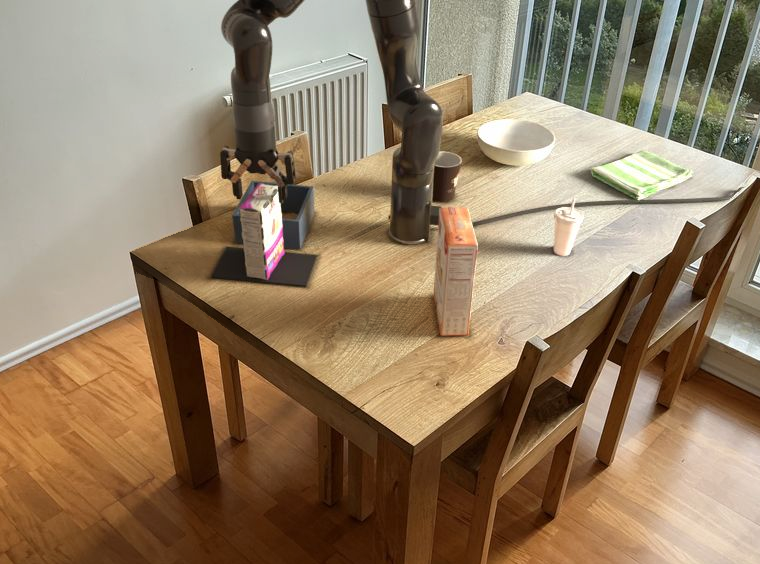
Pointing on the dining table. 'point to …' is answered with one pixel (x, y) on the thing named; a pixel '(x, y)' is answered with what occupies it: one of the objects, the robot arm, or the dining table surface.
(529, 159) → the serving bowl
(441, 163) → the coffee mug
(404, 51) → the robot arm
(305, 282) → the rubber mat
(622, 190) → the dish towel
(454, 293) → the cracker box
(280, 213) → the candy bar box
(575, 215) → the smoothie
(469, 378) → the dining table surface
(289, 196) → the open storage bin
